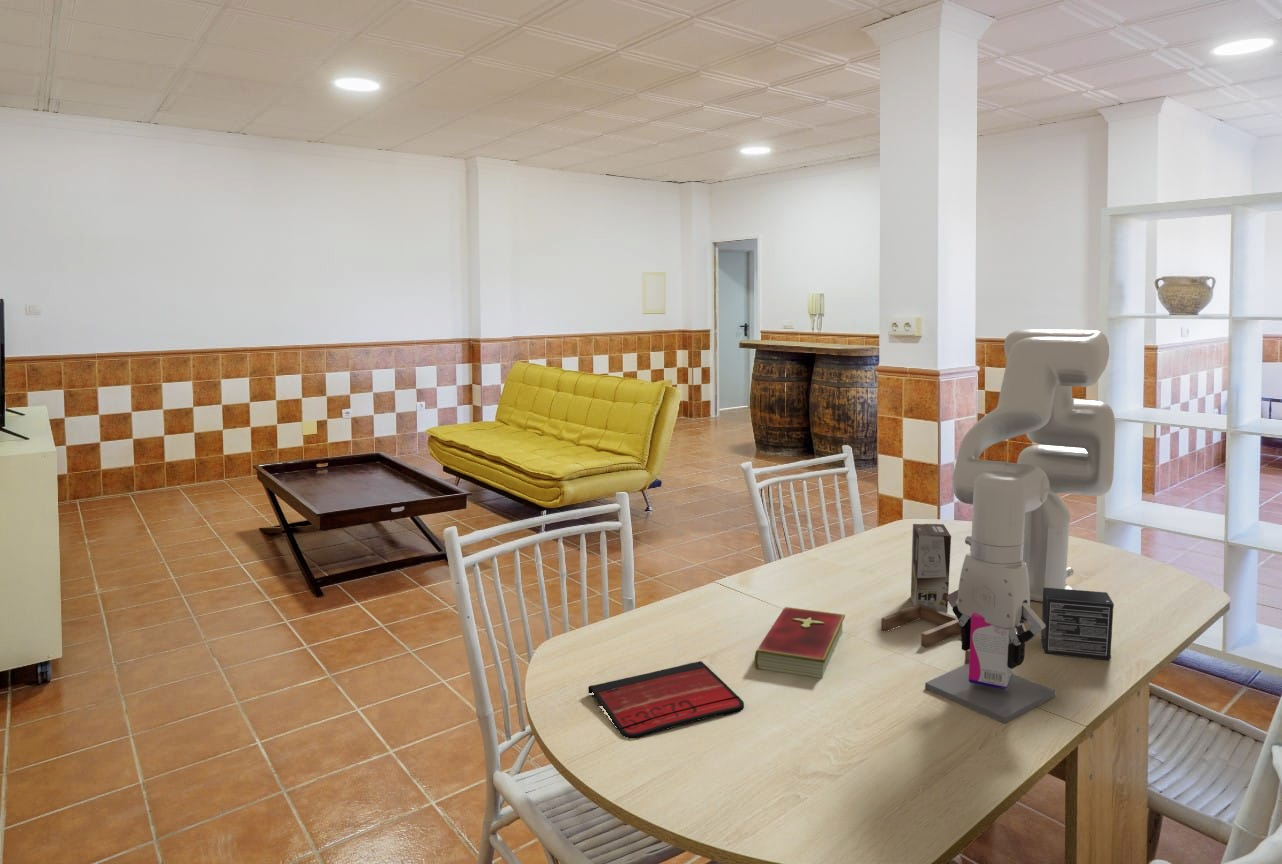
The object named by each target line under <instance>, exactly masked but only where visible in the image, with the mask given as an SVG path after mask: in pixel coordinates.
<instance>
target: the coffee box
mask: <svg viewBox="0 0 1282 864" xmlns="http://www.w3.org/2000/svg"><path fill="white" fill-rule="evenodd" d="M911 538H912V540H911V541H912V542H911V543H912V544H911V574H910V575H911V578H910V579H911V581H910V584H911V585H910V598H911V601H912V603H913V606H915V605H918V604H921V605H924V606H927V607H930V608H933V609H935V610H938V611H941V612H944V613H947V614H948V607H949V601H948V600H947V595H949V590H950V589H949V587H950V568H951V567H950V566H951V563H950V562H951V549H952V548H951V545H952V542H951V541H952V535H951V533H950V532H949V530H948V529H947V527H946V526H945V525H944V523H943V524H942V523H923V524H922V523H913V524H912V537H911Z"/></svg>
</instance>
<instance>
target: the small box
mask: <svg viewBox="0 0 1282 864" xmlns="http://www.w3.org/2000/svg"><path fill="white" fill-rule="evenodd" d="M1114 607H1115V604H1114V602H1113V600H1112V598H1111V597H1110V594H1109V593H1108V592H1107V591H1091V590H1080V589H1078V590H1077V589H1073V590H1069V589H1057V588H1043V602H1042V610H1041V611H1042V613H1041V620H1042V621H1043V622H1044V624H1045V628H1044V629H1043V630H1042V631H1041V632H1040V643H1042V644H1041V647H1042V650H1043V653H1044V654H1045V655H1055V656H1065V657H1066V656H1067V657H1073V658H1074V657H1075V658H1083V659H1094V660H1101V661H1111V660H1112V655H1111V654H1112V651H1111V650H1112V638H1113V621H1114V620H1113V618H1114Z"/></svg>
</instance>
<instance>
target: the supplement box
mask: <svg viewBox="0 0 1282 864" xmlns="http://www.w3.org/2000/svg"><path fill="white" fill-rule="evenodd" d="M1010 643H1012V640H1011V638H1010V636H1009V630H1007V629H1002V628H999V627H996V626H993V625H991V624H989V623H986V622H985V618H984V617H983V616H981V615H978V614H974V613H973V614H972V615H971V634H970V659H969V682H970V683H975V684H980V685H984V686H989V687H994V688H998V689H1003V690H1006V689H1007V687H1008V684H1009V682H1010V680H1011V677H1012V674H1013V669H1011V668H1008V666H1007V661H1008V645H1009V644H1010Z"/></svg>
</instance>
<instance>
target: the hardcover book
mask: <svg viewBox="0 0 1282 864" xmlns="http://www.w3.org/2000/svg"><path fill="white" fill-rule="evenodd" d="M845 618H846V614H843V613H836V612H829V611H821V610H814V609H813V610H812V609H811V610H810V609H804V608H797V607H796V608H795V607H789V606H784V608H783V609H782V611H781V613H779V615H778V616H777V619H776V620H775V621H774V623H773V625H772V626H771V628H770V629H769V631H768V632H767V634H766V635H765V637H764V638H763V639H762V641H761V643H760V644H759V646H758V647H757V649H756V651H755V653H754V667H755V670H758V669H761V670H766V671H767V670H769V671H774V672H780V673H781V672H782V673H787V674H792V675H793V674H794V675H798V676H806V677H813V678H818V679H823V677H824V676H825V673H826V671H827V668H828V666H829V663H830V661H831V659H832V656H833V655H834V652H835V650H836V648H837V646H838V643H839V641H840V639H839V638H841V636H842V634H843V625H844V624H843V622H844V620H845Z"/></svg>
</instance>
